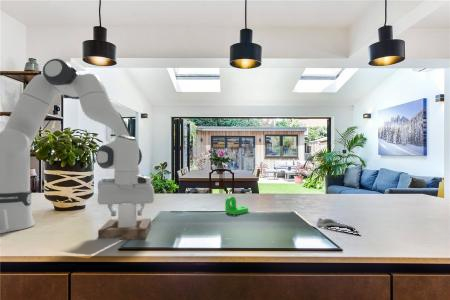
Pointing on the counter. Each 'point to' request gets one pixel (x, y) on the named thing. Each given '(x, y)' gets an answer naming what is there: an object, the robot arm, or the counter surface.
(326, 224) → the cloth
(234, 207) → the mechanical part
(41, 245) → the counter surface
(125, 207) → the can
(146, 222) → the socket block
